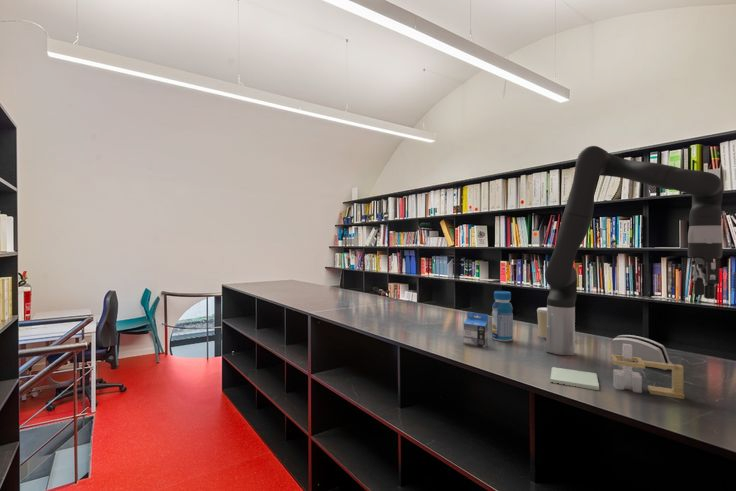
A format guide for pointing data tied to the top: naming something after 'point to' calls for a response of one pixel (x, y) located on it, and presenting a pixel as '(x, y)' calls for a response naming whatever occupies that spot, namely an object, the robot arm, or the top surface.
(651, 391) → the square loop paddle
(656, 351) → the white arched piece
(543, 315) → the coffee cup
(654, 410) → the top surface
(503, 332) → the beverage bottle
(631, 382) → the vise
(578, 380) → the mat
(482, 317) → the label tape cartridge
